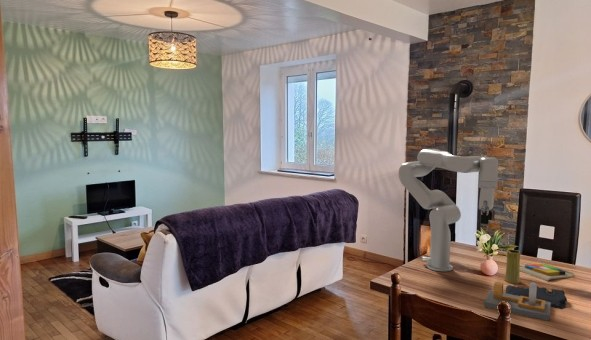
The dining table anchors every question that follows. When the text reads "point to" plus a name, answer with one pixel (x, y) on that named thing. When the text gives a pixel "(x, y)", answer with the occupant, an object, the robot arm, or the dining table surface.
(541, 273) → the wooden puzzle
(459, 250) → the dining table surface
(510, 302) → the keeper board
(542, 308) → the link
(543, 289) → the dark slate chunk
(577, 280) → the dining table surface
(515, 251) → the vase
